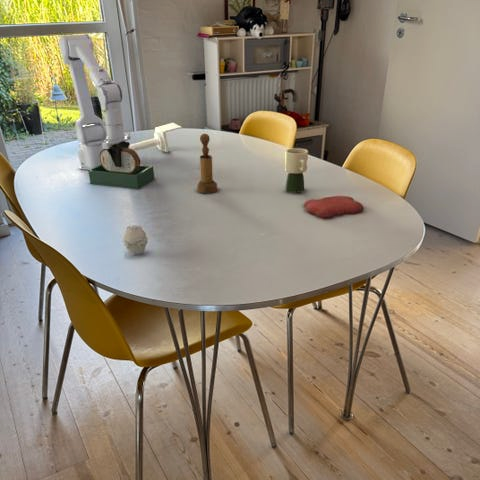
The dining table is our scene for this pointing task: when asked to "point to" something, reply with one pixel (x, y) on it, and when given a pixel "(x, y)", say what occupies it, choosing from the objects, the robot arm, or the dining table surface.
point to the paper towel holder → (157, 138)
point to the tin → (128, 161)
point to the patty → (333, 206)
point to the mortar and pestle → (206, 169)
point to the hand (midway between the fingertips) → (120, 165)
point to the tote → (122, 177)
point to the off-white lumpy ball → (135, 239)
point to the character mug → (295, 168)
